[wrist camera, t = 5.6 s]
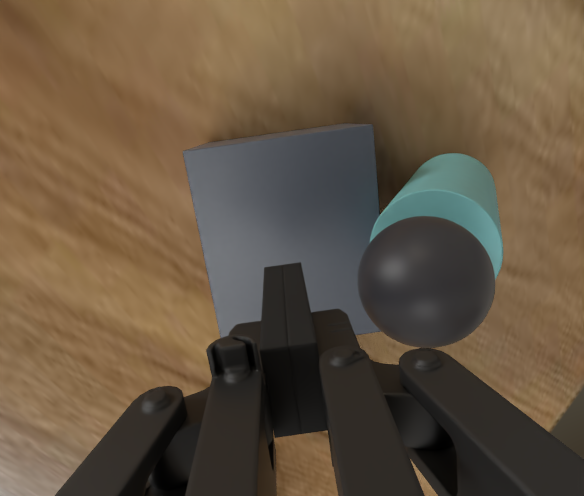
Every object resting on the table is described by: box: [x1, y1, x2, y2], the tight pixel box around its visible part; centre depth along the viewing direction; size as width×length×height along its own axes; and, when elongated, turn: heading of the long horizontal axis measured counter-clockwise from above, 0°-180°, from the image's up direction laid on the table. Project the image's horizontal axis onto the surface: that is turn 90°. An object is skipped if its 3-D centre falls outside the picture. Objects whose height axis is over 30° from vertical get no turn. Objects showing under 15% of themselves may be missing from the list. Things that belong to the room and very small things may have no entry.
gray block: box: [183, 123, 381, 338], centre depth 28 cm, size 10×12×9 cm
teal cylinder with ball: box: [358, 153, 503, 348], centre depth 24 cm, size 12×6×19 cm, turn 98°
